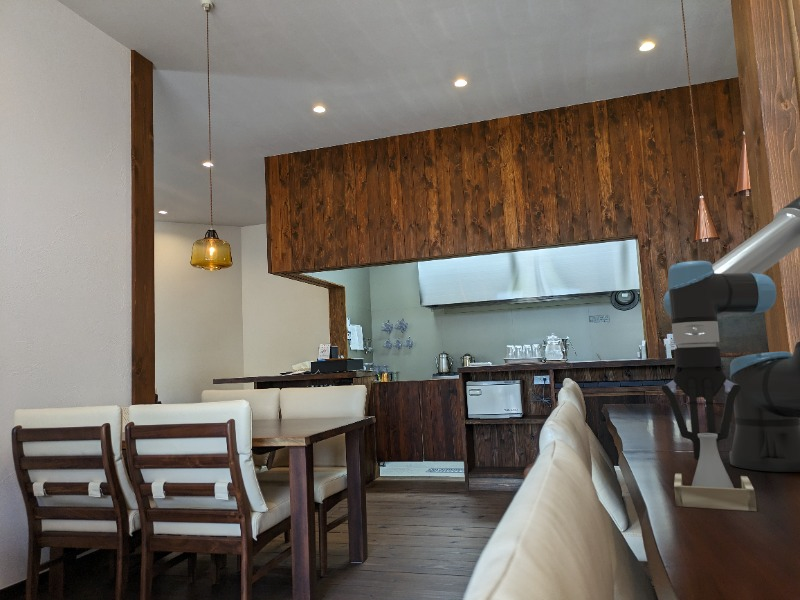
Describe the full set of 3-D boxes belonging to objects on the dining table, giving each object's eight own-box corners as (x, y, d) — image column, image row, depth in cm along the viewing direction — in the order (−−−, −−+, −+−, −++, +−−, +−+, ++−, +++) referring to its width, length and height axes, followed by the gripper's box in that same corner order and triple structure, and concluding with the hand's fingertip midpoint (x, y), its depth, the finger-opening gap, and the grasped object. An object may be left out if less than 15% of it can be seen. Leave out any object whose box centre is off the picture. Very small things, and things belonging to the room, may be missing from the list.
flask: (745, 498, 95) (738, 436, 96) (698, 498, 96) (692, 437, 97) (727, 488, 102) (721, 431, 103) (683, 489, 103) (678, 432, 104)
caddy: (676, 490, 102) (675, 473, 102) (749, 494, 97) (747, 476, 97) (675, 506, 91) (674, 486, 92) (756, 511, 87) (754, 490, 87)
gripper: (656, 347, 105) (666, 480, 102) (738, 344, 99) (752, 485, 97) (658, 347, 112) (668, 473, 109) (736, 345, 106) (748, 477, 103)
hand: (707, 478), depth 103 cm, fingers closed
